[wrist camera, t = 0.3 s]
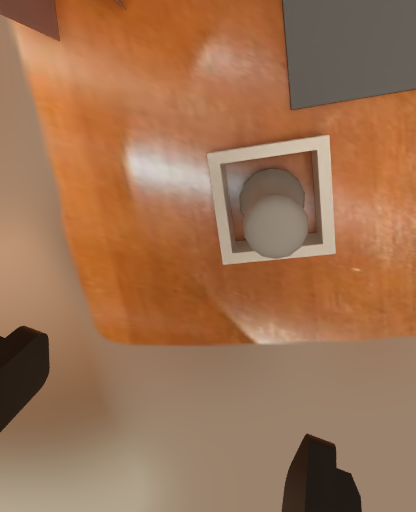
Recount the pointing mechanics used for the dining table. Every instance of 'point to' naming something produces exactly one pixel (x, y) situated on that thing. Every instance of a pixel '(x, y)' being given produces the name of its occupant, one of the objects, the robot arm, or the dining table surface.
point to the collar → (322, 193)
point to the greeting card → (34, 14)
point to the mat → (349, 49)
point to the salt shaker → (274, 213)
